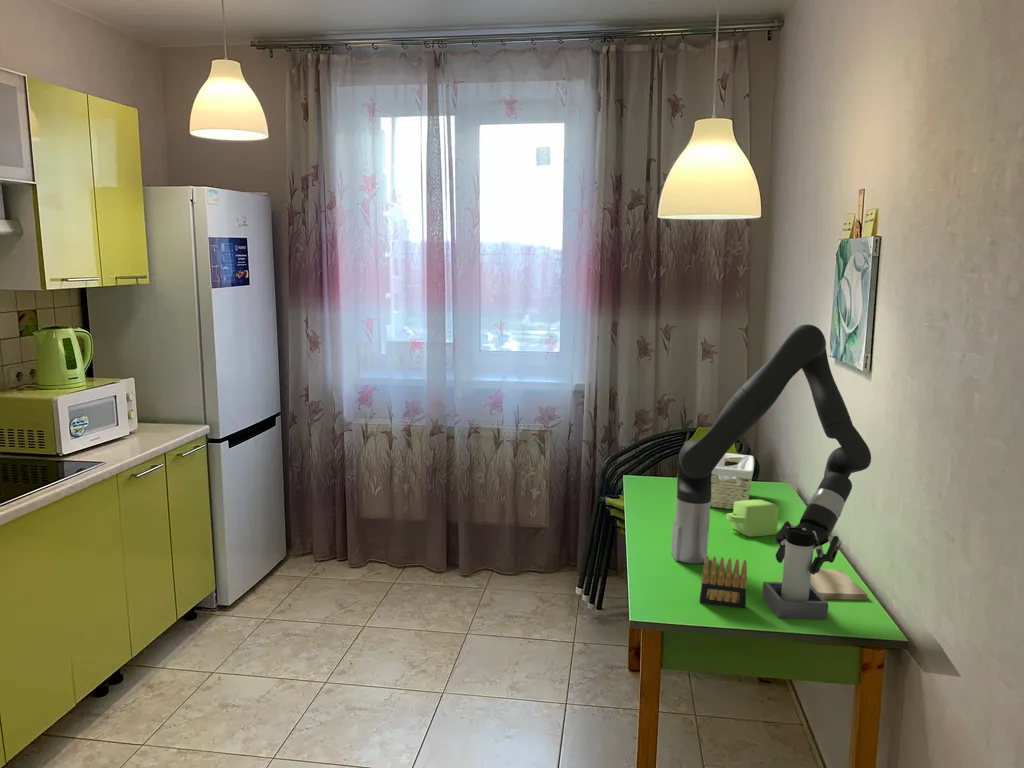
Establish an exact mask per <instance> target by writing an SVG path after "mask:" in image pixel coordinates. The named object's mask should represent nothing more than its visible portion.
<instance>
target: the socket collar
mask: <svg viewBox="0 0 1024 768" xmlns="http://www.w3.org/2000/svg"><path fill="white" fill-rule="evenodd" d="M781 590H782V581H763V582H762V593H761V598H762V599H763V600H764V601H765V602H766V604H767V605H768V607H769V606H770V607H769V608H770V609H771V610H772V612H773V613H774V615H775V616H776V617H777V618H778V619H797V620H798V619H801V620H804V619H805V620H827V619H828V611H829V602H828V601H827V599H824V598H823V597H822V596H821V595H820V594H819V593H818V592H817V591H816V590H815V589H814V588H813V587H812V585H811V584H810V590H809V601H790V600H782V599H781Z"/></svg>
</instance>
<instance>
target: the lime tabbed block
mask: <svg viewBox="0 0 1024 768" xmlns="http://www.w3.org/2000/svg"><path fill="white" fill-rule="evenodd" d="M779 511H780V510H779V505H777V504H776V503H773V502H770V501H767V500H764V499H749V500H743V501H734V508H733V509H732V512H727V513H726V520H728V521H730V522H732V525H731V526H732V529H733V530H734V529H735V530H734V531H736V530H737V531H736V532H738V531H739V532H738V533H740V534H741V535H744V536H747V537H752V538H753V537H763V536H765V535H766V536H773V535H777V534H778V523H779ZM766 536H765V537H766Z"/></svg>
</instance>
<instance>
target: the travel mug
mask: <svg viewBox="0 0 1024 768" xmlns="http://www.w3.org/2000/svg"><path fill="white" fill-rule="evenodd" d="M814 537H815V533H814V532H811V531H806V530H802V529H801V528H794V527H790V528H787V538H786V546H785V557H784V559H783V570H782V580H781V582H782V590H781V599H782V600H790V601H809V590H810V580H811V573H810V571H809V569H810V567H811V565H812V563H813V561H814V559H813V558H814V550H815V549H814Z"/></svg>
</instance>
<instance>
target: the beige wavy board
mask: <svg viewBox="0 0 1024 768" xmlns="http://www.w3.org/2000/svg"><path fill="white" fill-rule="evenodd" d="M810 584H811V585H812V587H813V588H814V589H815V590H816V591H817V592H818V593H819V594H820V595H821V596H822V597H823V598H824V599H825V600H857V601H858V600H859V601H863V600H865V601H866V600H868V593H867V592H866V591H865V590H864V589H862V587H860V586H859V584H857V583H856V582H855V581H854V580H853V579H852V578H851V577H850V576H848V575H847V573H845V572H844V571H843V570H842V569H822V568H820V570H819V572H818V573H815V575H813V574H811V580H810Z"/></svg>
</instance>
